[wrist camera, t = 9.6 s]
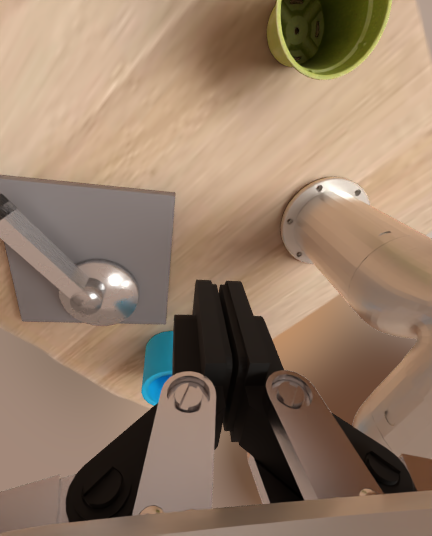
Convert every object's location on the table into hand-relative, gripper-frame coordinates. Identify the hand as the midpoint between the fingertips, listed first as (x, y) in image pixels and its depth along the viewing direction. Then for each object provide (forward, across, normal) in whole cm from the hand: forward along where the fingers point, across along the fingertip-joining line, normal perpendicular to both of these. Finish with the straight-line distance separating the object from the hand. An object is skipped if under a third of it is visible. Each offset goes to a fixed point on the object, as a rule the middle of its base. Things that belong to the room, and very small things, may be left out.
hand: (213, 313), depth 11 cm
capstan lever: (+27, +14, +13) cm, 33 cm away
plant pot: (+29, -10, -14) cm, 34 cm away
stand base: (+28, +12, +13) cm, 33 cm away
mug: (+29, 0, +29) cm, 41 cm away
